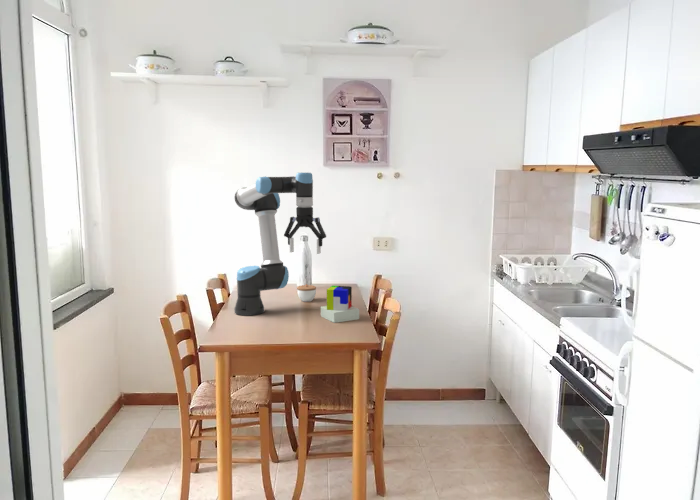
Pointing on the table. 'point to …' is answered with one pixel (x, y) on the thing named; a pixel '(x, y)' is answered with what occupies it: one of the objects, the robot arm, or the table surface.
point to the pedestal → (340, 314)
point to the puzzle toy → (339, 298)
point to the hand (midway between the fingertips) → (305, 252)
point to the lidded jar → (306, 292)
